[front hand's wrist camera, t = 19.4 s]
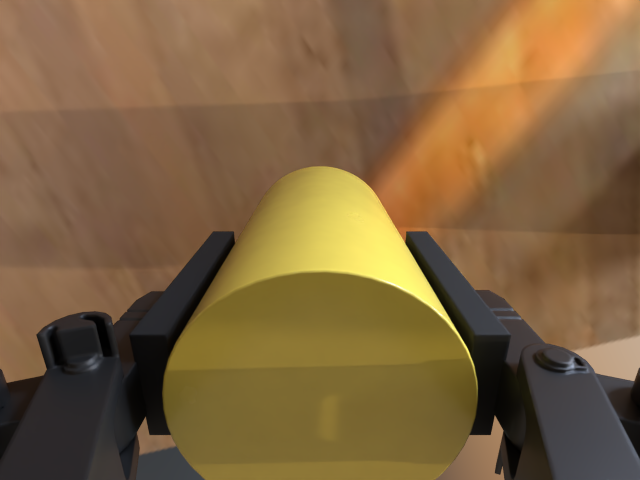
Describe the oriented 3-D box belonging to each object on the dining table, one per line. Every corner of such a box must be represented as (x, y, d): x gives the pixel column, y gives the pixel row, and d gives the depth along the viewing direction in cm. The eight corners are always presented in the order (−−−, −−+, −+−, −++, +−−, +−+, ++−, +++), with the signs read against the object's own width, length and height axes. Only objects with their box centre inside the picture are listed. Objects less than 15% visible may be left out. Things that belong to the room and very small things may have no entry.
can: (230, 253, 18) (113, 451, 8) (296, 138, 16) (255, 202, 6) (340, 312, 19) (363, 553, 9) (413, 211, 18) (548, 370, 7)
